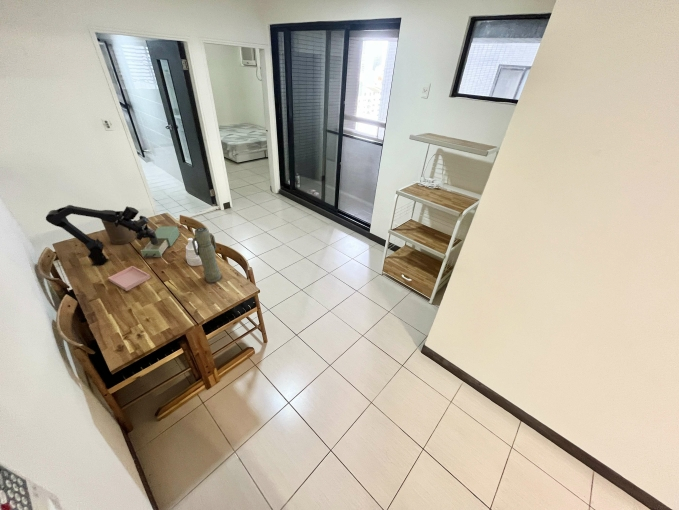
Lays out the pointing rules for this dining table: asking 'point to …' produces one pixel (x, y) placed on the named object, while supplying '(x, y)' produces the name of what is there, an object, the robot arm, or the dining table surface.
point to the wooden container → (118, 233)
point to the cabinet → (167, 233)
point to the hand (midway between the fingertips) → (154, 235)
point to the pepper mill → (153, 240)
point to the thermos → (207, 254)
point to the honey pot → (192, 254)
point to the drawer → (155, 249)
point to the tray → (129, 278)
